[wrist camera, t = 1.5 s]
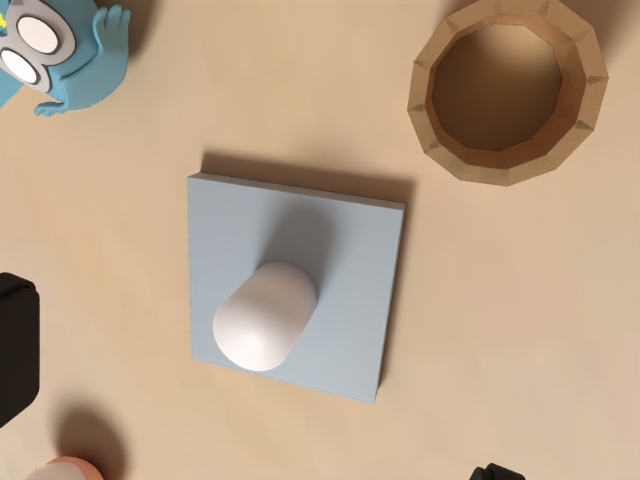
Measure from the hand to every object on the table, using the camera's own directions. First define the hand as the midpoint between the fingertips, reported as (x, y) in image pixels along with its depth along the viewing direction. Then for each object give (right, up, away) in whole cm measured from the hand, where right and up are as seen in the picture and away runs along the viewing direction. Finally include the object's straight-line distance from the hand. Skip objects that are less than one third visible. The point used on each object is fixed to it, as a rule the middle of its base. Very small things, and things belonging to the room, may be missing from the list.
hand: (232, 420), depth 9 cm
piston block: (0, +1, +21) cm, 21 cm away
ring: (+11, +11, +14) cm, 21 cm away
